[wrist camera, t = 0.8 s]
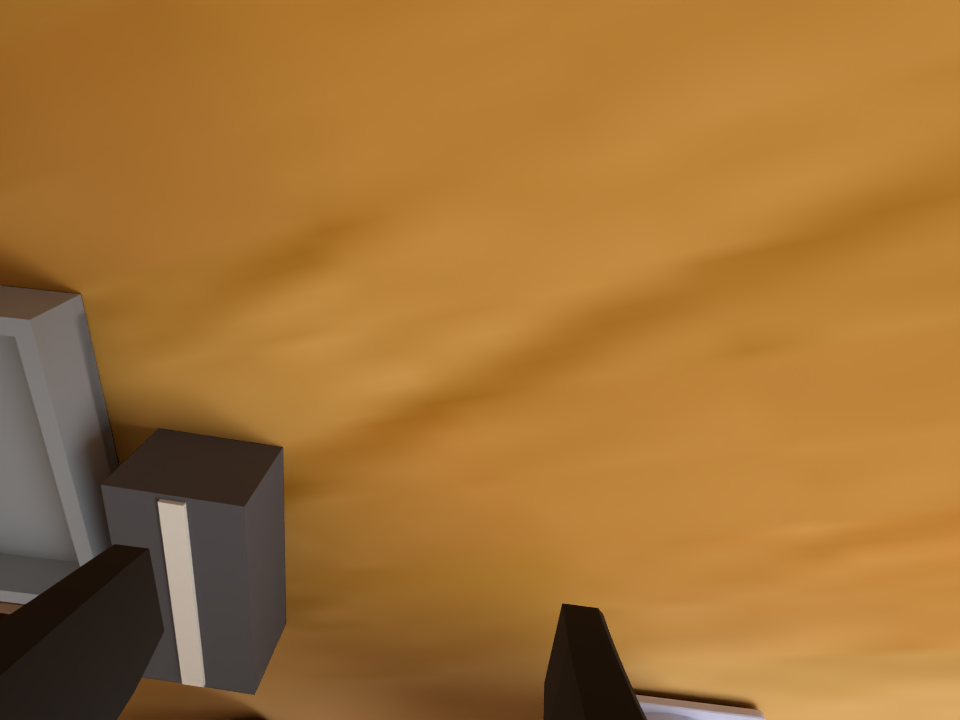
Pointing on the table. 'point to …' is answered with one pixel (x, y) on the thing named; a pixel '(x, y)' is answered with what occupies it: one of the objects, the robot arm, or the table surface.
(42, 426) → the tray
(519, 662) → the table surface
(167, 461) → the block
